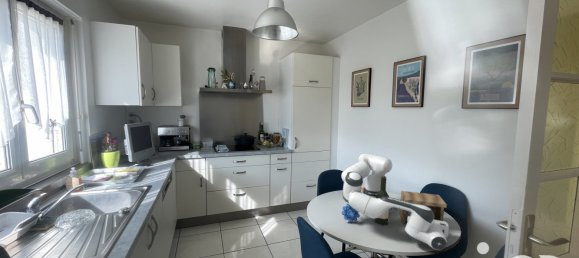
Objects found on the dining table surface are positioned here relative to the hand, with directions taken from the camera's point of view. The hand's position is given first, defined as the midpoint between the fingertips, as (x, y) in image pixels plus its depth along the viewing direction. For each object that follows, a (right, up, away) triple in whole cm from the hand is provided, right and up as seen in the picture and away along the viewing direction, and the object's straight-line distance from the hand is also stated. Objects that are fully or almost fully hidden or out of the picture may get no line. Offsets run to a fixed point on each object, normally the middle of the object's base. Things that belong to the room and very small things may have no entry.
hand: (424, 217), depth 141 cm
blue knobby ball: (-42, -6, +6) cm, 43 cm away
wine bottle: (-23, -6, +8) cm, 25 cm away
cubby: (+2, -6, +7) cm, 10 cm away
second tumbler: (-3, -6, +12) cm, 14 cm away
